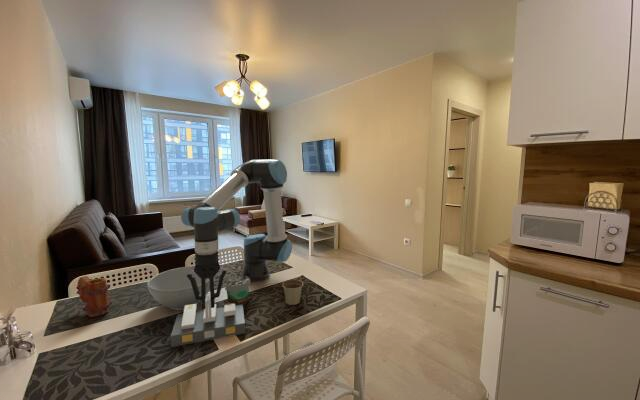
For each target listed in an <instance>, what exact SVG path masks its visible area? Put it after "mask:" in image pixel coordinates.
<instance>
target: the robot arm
mask: <svg viewBox="0 0 640 400" xmlns="http://www.w3.org/2000/svg"><path fill="white" fill-rule="evenodd" d="M287 178H288V172H287V167H286V166H285V164H284V162H283V161H282V160H279V159H251V160H248V161H246V162H244V163H242V164H240V165H239V166H237V167H235V168H234V169H233V170H232V171H231V173H230V175H229V177H227V178H226V179H225V180H224V181H223V182H221V184H220V185H218V186H217V187H216V188H215V189H214V190H213V191H212V192H210V193H209V194H208V195H207V196H206V197H205V198H204V199H202V200H201V201H200V202H198V204H197V205H196V206H195V207H193V206H191V207H187V208H184V209H183V211H182V212H181V215H180V220H181V222H182V224H183V225H185V226H186V227H191V228H193V232H194V252H195V254H194V263H195V264H194V266H195V267H194V270H193V271H191V272H188V274H187V277H188V279H189V280H190V281H191V285H192V288H193V291H194V295H195V298H196V300H200V301H201V310H205V316H206V319H208V306H209V319H210V318H211V315H212V313H211V308H214V306H215V304H216V301H215V299H216V298H219V297H220V295H221V290H222V286H223V283H224V282H223V281H224V278H225V276H226V274H227V268H224V267H221V264H220V261H219V259H220V258H219V251H218V250H219V233H220V232H223V231H226V230H231V229H234V228H236V227H237V226H239V224H240V222H241V215H240V213H239V212H238V210H236V209H234V208H227V209H222V208H223V207H224V206H225V205H226V204H227V203H228V202H229V201H231V199H232V198H233V197H234V196H235V195H236V194H237V193H238V192H239V191H240V190H241V189H242V188H245V187H247V186H248V185H249V184H255V183H256V184H259V188H260V189H261V190H262V191H263V201H264V209H265V223H266V231H267V235H266V234H265V233H258V234H257V233H256V234H252V235H248V236H246V237H244V239H243V256H244V257H243V259H244V261H243V262H244V264H243V266H242V270H241V280H243V279H245V278H246V276H247V277H248V278H249V279H250V282H259V281H263V280H266V279H267V278H269V276H270V270H269V267H268V264H267V261H273V262H278V263H279V262H280V263H281V262H282V263H284V262H285V263H286V261H288V260H289V258H290V256H291V254H292V251H293V242H292V241H291V240H290V239H288V235H287V233H285V228H284V215H283V203H282V191H281V190H282V189H283V188H284V184H285V183H287ZM218 272H219V278H218V283H217V287H216V292H215V280H214V276H215V275H216V276H217V274H218ZM195 273H196V274H197V275H198V276H199V277H200V278H201V295H200V293H199V289H198V286H197V283H196V279H195ZM207 278H209V279H210V291H209V292H210V295H209V296H210V297H207V295H206V279H207Z"/></svg>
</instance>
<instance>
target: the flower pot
mask: <svg viewBox="0 0 640 400" xmlns="http://www.w3.org/2000/svg"><path fill="white" fill-rule="evenodd" d="M281 284H282V285H281V286H282V287H283V288H282V289H283V290H284V296H285V297H284V298H285V303H286V304H287V305H290V306H293V305H294V306H295V305H298V304H300V301H301V295H302V294H301V293H302V288H303V286H304V282H303V281H302V280H299V279H287V280H285V281H283V282H282V283H281Z"/></svg>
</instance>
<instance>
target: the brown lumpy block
mask: <svg viewBox="0 0 640 400" xmlns="http://www.w3.org/2000/svg"><path fill="white" fill-rule="evenodd" d="M76 288H77V289H76V290H77V292H78V296H79V298H80V300H81V301H82V303H83V304H85V306H84V307H83V308H82V310H83V311H84V312H86V314H87V316H88V317H91V318H96V317H100V316H102V315H104V314H106V313H108V312H109V308H110V307H111V305H112V303H113V302H112V301H110V300H109V295H108V290H109V289H110V288H111V286H110V285H109V284H107V279H106V278H104V277H99V278H92V279H91V278H90V277H89V276H88V275H83V276H80V277H79V278H78V280H77V287H76Z"/></svg>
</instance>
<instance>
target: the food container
mask: <svg viewBox="0 0 640 400" xmlns="http://www.w3.org/2000/svg"><path fill="white" fill-rule="evenodd" d="M250 285H251V281H250V279H249V278H248V277H247V276H246V278H245V279H241V280H237V281H234V283H231V284H230V285H228V284H225V288H224V290H225V291H226V297H227V305H229V304H235V306H236V305H242V304H243V306H245V305H246V304H248V301H249V294H250V293H249V290H250Z"/></svg>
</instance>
